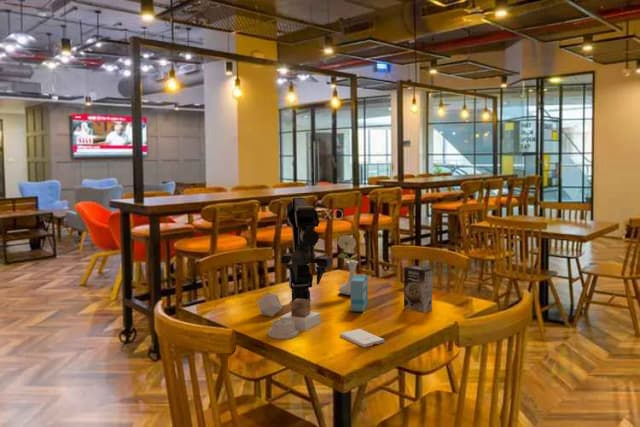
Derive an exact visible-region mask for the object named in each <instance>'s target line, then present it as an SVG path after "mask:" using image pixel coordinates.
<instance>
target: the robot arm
mask: <svg viewBox="0 0 640 427" xmlns="http://www.w3.org/2000/svg"><path fill="white" fill-rule="evenodd" d="M285 218H287V223H288V225H289V226H290V228H291V230H292V231H291V232H292V233H291V234H292V245H293V246H292V248H293V252H292V253H285V254H283V255H281V256H280V264H283V266H285V267H287V268H288V270H289V272H290V273H289V278H288V286H289V288H290V289H291V300H290V302H289V303H290V304H291V302H292V301H294V300H295V299H310V302H311V301H312V300H311V291H310V288H312V287H313V279H314V275H313V274H312V271H311V270H310V269H311V268H310V265H309V264H316V266H315V270H316V285H319V284H320V282H321V280H322V277H323V274H324V272H325V271H326V269H327V268H328V267H330V266H332V265H333V258H332V257H331V256H327V255H326V256H324V255H321V256H319V257H316V253H315V246H316V245H317V243H319V239H320V238H319V234H318V232H317V231H316V230H315V228H316V227H319V224H320V218H319V213H318V210H317V209H316V208H315V207H314V206H313V205H308V204H307V202H306V198H305V197H302V196H300V197H293V198H291V201H290V202H288V203H287V204H286V208H285ZM307 263H308V264H307Z"/></svg>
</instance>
